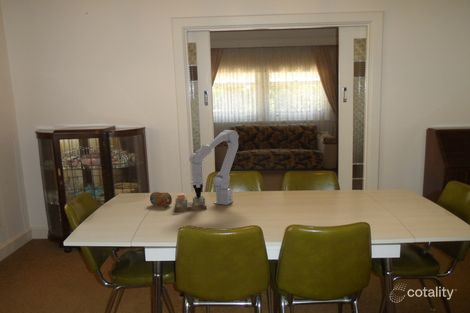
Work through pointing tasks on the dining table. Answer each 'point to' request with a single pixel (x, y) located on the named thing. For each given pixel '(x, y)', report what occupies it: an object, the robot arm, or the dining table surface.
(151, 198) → the tin
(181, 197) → the terracotta plunger
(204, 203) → the press board
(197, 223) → the dining table surface
